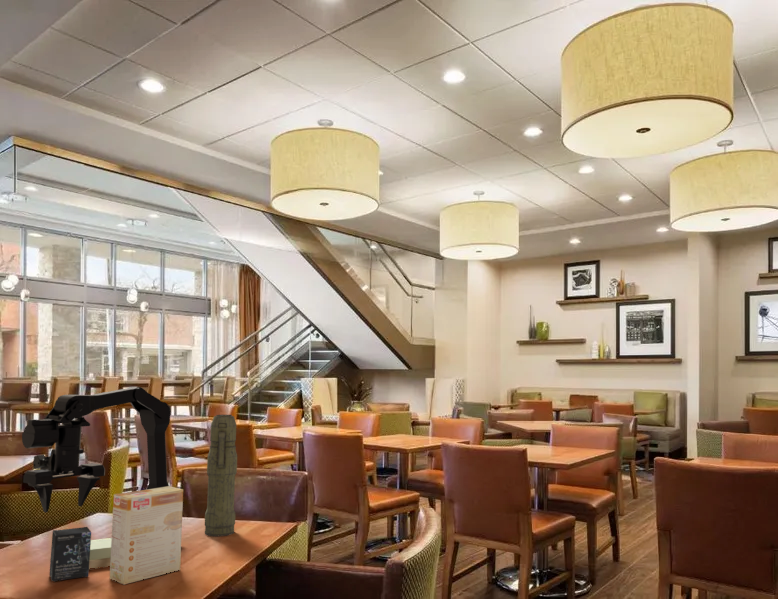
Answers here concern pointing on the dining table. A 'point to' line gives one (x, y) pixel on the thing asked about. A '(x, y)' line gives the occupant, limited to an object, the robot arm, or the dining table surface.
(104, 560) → the lower slab
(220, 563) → the dining table surface
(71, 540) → the box
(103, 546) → the upper slab
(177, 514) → the coffeecake box
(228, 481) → the thermos
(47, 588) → the dining table surface
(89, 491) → the robot arm
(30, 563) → the dining table surface
